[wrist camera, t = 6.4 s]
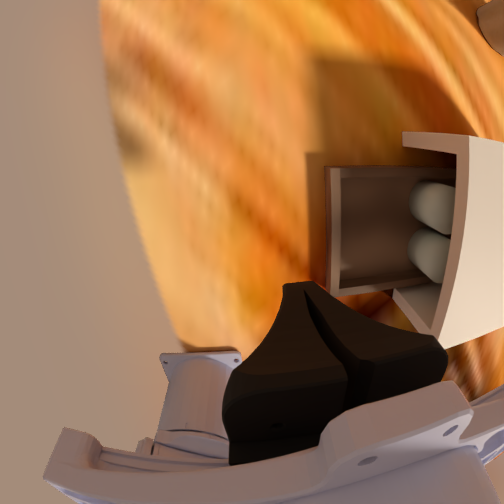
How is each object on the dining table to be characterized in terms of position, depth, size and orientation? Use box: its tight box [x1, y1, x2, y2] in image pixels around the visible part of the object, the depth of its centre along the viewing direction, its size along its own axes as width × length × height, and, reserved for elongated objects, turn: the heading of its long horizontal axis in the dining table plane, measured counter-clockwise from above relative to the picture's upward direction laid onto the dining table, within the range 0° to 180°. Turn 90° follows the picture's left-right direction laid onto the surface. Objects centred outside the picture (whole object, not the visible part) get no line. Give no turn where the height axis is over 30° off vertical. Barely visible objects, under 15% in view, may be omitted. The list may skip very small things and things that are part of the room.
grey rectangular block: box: [392, 131, 504, 349], centre depth 17 cm, size 15×10×8 cm
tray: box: [324, 165, 457, 297], centre depth 21 cm, size 10×14×2 cm
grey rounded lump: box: [409, 180, 456, 234], centre depth 19 cm, size 4×4×4 cm
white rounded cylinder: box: [407, 227, 451, 283], centre depth 20 cm, size 4×4×4 cm
